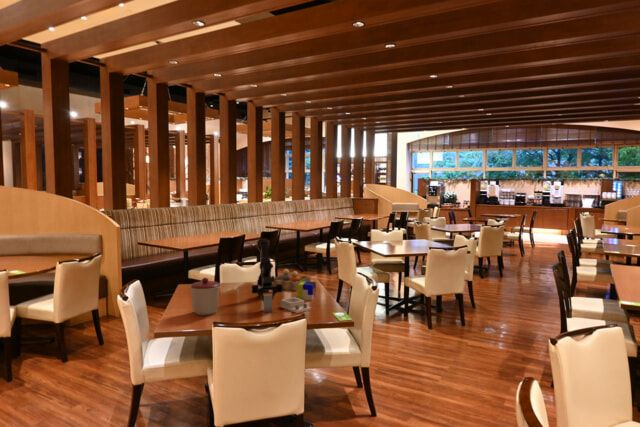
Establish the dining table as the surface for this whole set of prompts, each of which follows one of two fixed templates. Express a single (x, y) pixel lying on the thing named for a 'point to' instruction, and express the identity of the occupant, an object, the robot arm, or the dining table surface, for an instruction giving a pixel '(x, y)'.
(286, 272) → the toy bolts
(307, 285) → the puzzle toy
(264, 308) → the grey tall block
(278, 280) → the bolt corral
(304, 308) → the chassis
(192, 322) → the dining table surface
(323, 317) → the dining table surface
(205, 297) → the canister
